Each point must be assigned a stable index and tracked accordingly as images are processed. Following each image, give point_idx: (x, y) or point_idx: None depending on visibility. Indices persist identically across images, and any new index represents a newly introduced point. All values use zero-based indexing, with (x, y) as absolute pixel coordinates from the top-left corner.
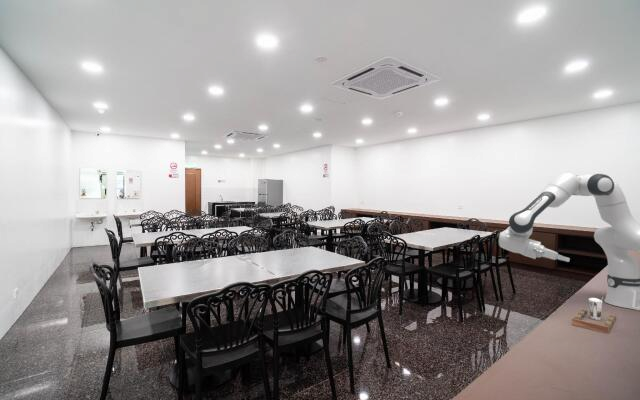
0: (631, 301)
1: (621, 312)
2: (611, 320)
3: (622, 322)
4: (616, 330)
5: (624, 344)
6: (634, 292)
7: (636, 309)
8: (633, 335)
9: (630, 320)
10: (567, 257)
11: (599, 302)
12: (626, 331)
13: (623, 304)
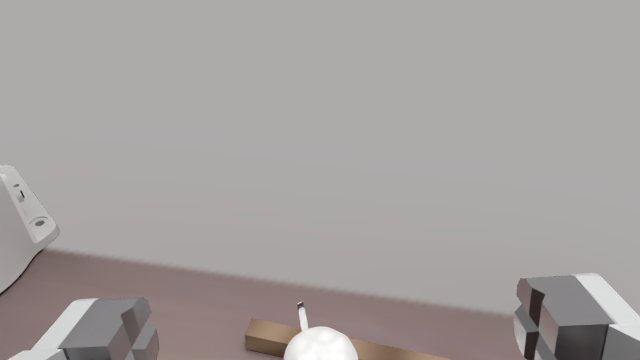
0: (20, 227)
1: (114, 296)
2: (388, 349)
3: (297, 317)
4: (453, 356)
5: None
6: (5, 180)
7: (51, 240)
8: (467, 311)
9: (241, 286)
10: (73, 314)
11: (351, 344)
12: (432, 324)
13: (10, 264)
